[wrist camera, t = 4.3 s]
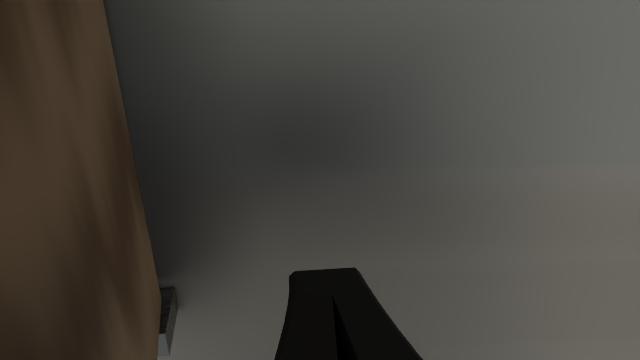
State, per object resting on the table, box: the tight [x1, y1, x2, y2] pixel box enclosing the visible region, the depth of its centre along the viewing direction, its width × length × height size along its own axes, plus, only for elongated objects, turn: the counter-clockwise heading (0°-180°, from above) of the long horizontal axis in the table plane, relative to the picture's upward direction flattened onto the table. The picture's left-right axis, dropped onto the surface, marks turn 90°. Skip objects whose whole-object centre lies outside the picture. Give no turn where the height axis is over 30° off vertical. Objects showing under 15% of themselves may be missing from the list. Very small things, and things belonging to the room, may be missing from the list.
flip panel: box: [0, 0, 162, 360], centre depth 12 cm, size 14×1×12 cm, turn 179°
